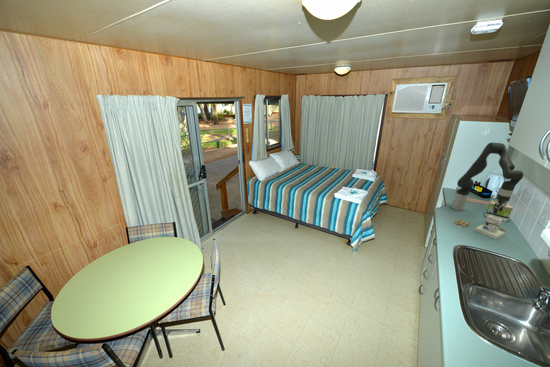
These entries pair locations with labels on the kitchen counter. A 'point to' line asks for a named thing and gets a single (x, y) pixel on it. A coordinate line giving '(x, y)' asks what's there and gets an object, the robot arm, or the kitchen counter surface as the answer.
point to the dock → (490, 232)
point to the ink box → (492, 223)
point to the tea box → (500, 214)
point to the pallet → (461, 223)
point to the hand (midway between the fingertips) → (497, 212)
